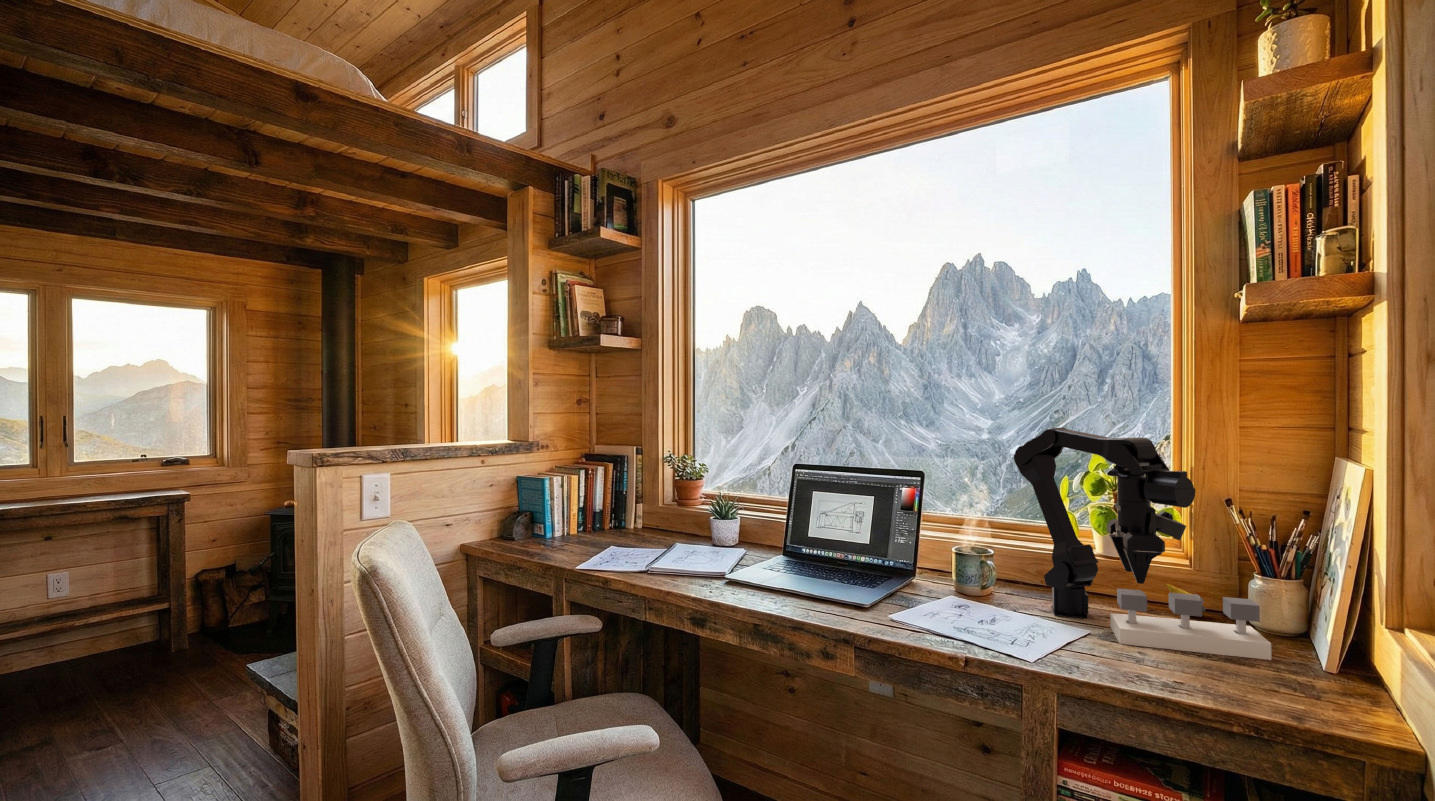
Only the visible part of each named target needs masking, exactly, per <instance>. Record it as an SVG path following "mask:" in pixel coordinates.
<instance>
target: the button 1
mask: <svg viewBox="0 0 1435 801" xmlns="http://www.w3.org/2000/svg"><path fill="white" fill-rule="evenodd" d="M1116 603H1117V605H1118V606H1119V608H1120V609H1121V610H1123V611H1124V610H1125V611H1127V615H1128V622H1129V623H1136V615H1137V611H1138V612H1145V613H1146V612H1148V596H1147V595H1146V593H1145V592H1144V591H1143V590H1140V589H1129V588H1116Z"/></svg>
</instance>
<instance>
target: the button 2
mask: <svg viewBox="0 0 1435 801" xmlns="http://www.w3.org/2000/svg"><path fill="white" fill-rule="evenodd" d="M1222 612H1223V614H1224V615H1225V616H1226V617H1228V618H1229V619H1230V620H1234V621H1235V625H1236V632H1238V633H1241V634H1246V626H1247V622H1254V623H1255V622H1256V623H1257V622H1258V623H1260V621H1261V620H1260V605H1259V604H1258V603H1256V602H1255V601H1253V599H1251V598H1241V597H1229V596H1227V597H1226V596H1222Z"/></svg>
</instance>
